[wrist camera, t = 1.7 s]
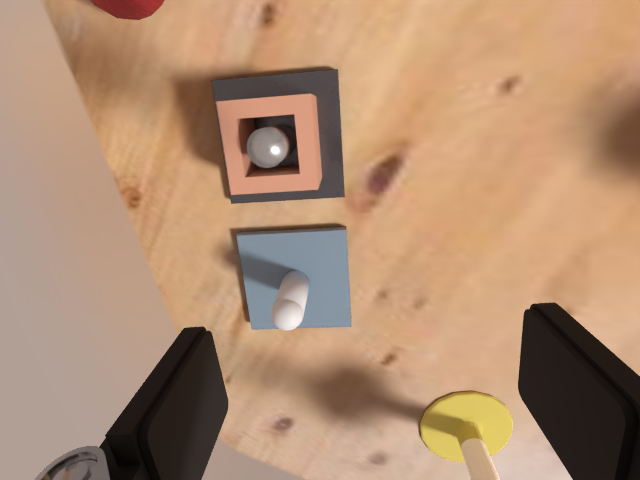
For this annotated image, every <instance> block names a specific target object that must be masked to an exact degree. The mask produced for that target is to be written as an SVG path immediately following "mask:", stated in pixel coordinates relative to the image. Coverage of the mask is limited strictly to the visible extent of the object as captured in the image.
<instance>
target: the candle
mask: <svg viewBox="0 0 640 480" xmlns="http://www.w3.org/2000/svg"><path fill="white" fill-rule="evenodd" d="M420 430H421V438H422V440H423V441H424V443H425V444H426V445H427V447H428V448H429V450H430V451H432V452H433V453H435V454H437V455H438V456H440V457H441V458H443V459H448V460H452V461H456V462H466V465H467V468H468V471H469V474H470V477H471V480H500V478H499V476H498V474H497V471H496V469H495V466H494V464H493V462H492V459H491V457H490V456H492V455H494V454H495V453H496V452H498V451H499V450H500V449H501V448H503V447H504V446H505V445H506V443H507V442H508V440H509V438H510V436H511V434H512V416H511V415H510V413H509V411H508V409H507V408H506V406H505V404H503V403H502V402H500V401H499V400H497V399H496V398H494V397H493V396H491V395H488V394H484V393H479V392H475V391H468V392H456V393H452V394H450V395H447V396H445V397H443V398H440V399H438V400H437V401H435V402H434V403H433V404H432V405H431V406H430V407H429V408H428V409H427V410H426V411H425V413H424V415H423V417H422V420H421V422H420Z"/></svg>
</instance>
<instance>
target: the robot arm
mask: <svg viewBox="0 0 640 480" xmlns="http://www.w3.org/2000/svg"><path fill="white" fill-rule="evenodd" d="M518 389H519V393H520V396H521V398H522V400H523V402H524V403H525V405H526V406H527V408H528V409H529V411H530V413H531V414H532V416H533V417H534V419H535V420H536V422H537V424H538V425H539V427H540V428H541V430H542V432H543V433H544V435H545V436H546V438H547V439H548V441H549V443H550V444H551V446H552V447H553V449H554V450H555V452H556V454H557V455H558V457H559V458H560V460H561V462H562V463H563V465H564V466H565V468H566V469H567V471H568V473H569V474H570V476H571V477H572V479H573V480H640V376H639V375H637V374H636V373H635V372H634V371H633V370H632V369H631V368H629V367H628V366H627V365H626V364H625V363H624V362H623V361H622V360H620V359H619V358H618V357H617V356H616V355H615V354H614V353H612V352H611V351H610V350H609V349H608V348H607V347H606V346H604V345H603V344H602V343H601V342H600V341H599V340H598V339H596V338H595V337H594V336H593V335H592V334H591V333H590V332H589V331H587V330H586V329H585V328H584V327H583V326H582V325H581V324H579V323H578V322H577V321H576V320H575V319H574V318H573V317H571V316H570V315H569V314H568V313H567V312H566V311H565V310H564V309H562V308H561V307H560V306H559V305H558V304H556V303H539V304H532V305H531V307H530V309H527V310H525V312H524V319H523V331H522V343H521V355H520V367H519V380H518ZM227 411H228V397H227V393H226V389H225V385H224V381H223V377H222V373H221V369H220V365H219V361H218V357H217V353H216V349H215V344H214V340H213V336H212V333H211V332H210V331H206V329H205V327H189V328H184V329H183V330H182V331H181V333H180V334H179V336H178V337H177V338H176V340H175V341H174V343H173V344H172V345H171V346H170V348H169V349H168V351H167V352H166V353H165V355H164V356H163V357H162V359H161V360H160V362H159V363H158V364H157V365H156V367H155V368H154V370H153V371H152V372H151V374H150V375H149V376H148V378H147V379H146V380H145V382H144V383H143V385H142V386H141V387H140V389H139V390H138V392H137V393H136V394H135V395H134V397H133V398H132V400H131V401H130V402H129V404H128V405H127V406H126V408H125V409H124V410H123V412H122V413H121V414H120V416H119V417H118V419H117V420H116V421H115V423H114V424H113V426H112V427H111V428H110V430H109V431H108V432H107V434H106V435H105V436H106V439H105V440H104V441H103V443H102V444H101V445H100V447H97V446H86V447H82V448H77V449H75V450H72V451H70V452H68V453H66V454H64V455H62V456H61V457H59V458H57V459H56V460H54V461H53V462H52V463H51V464H49V465H48V466H47V467H46V468H44V470H43V471H42V472H41V473H40V474H39V475H38V476H37V477H36V479H35V480H201V479H202V476H203V474H204V471H205V468H206V466H207V463H208V461H209V458H210V456H211V452H212V450H213V448H214V445H215V442H216V440H217V437H218V435H219V432H220V429H221V427H222V424H223V422H224V419H225V416H226V414H227Z"/></svg>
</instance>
